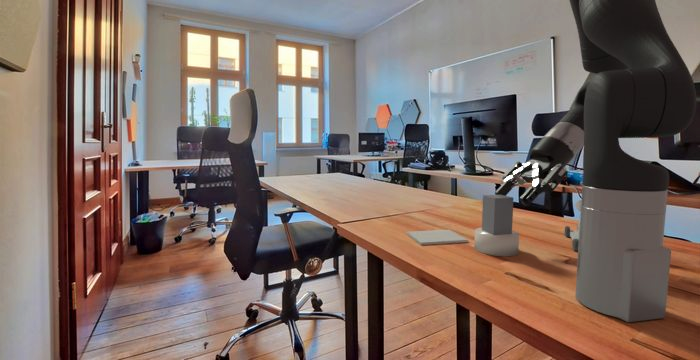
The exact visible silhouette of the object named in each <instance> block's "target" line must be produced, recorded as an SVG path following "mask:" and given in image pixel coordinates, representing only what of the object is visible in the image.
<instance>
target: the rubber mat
mask: <svg viewBox="0 0 700 360" xmlns="http://www.w3.org/2000/svg"><path fill="white" fill-rule="evenodd" d="M405 234H406V236H408V237H410V238H411V239H412V240H413V241H415V242H416V243H417V244H418V245H420V246H429V245H443V244H444V245H445V244H458V243H459V244H460V243H469V239H467V238H466V237H464V236H462V235H460V234H458V233H456V232H455V231H452V230H450V229H449V228H448V229H434V230H432V229H431V230H417V231H415V230H414V231H412V230H411V231H406V233H405Z"/></svg>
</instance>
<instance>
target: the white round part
mask: <svg viewBox="0 0 700 360" xmlns="http://www.w3.org/2000/svg"><path fill="white" fill-rule="evenodd" d="M473 246H474V247H473V248H474V250H475V251H477V252H479V253H481V254H484V255H488V256H495V257H513V256H517V255H519V248H520V247H519V246H520V233H519V232H517V231H516V230H513V229H512V234H505V235H492V234H490V233H487V232H485V231H483V230H482V227H478V228H475V229H474V245H473Z"/></svg>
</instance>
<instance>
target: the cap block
mask: <svg viewBox="0 0 700 360" xmlns="http://www.w3.org/2000/svg"><path fill="white" fill-rule="evenodd" d="M513 216H514V197H513V196H507V195H506V196H504V195H495V194H485V195H482V216H481V228H482V230H483V231H485V232H487V233H490V234H492V235H505V234H512V230H513V221H514V220H513V218H514V217H513Z"/></svg>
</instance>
